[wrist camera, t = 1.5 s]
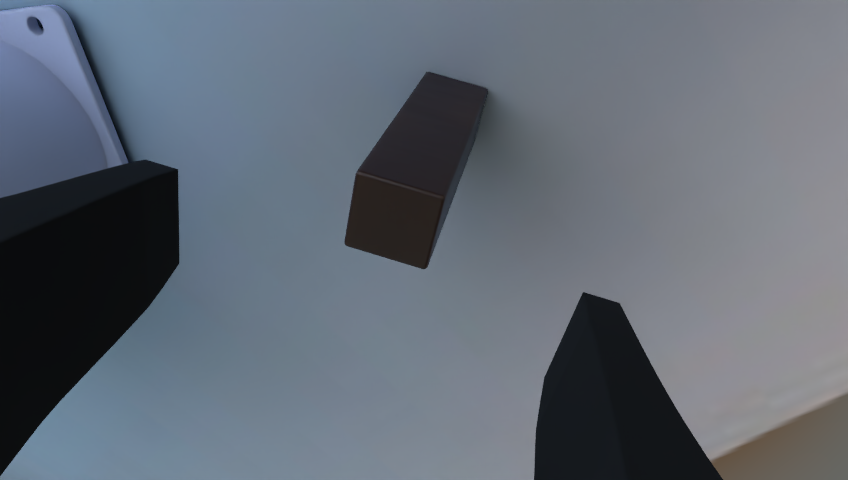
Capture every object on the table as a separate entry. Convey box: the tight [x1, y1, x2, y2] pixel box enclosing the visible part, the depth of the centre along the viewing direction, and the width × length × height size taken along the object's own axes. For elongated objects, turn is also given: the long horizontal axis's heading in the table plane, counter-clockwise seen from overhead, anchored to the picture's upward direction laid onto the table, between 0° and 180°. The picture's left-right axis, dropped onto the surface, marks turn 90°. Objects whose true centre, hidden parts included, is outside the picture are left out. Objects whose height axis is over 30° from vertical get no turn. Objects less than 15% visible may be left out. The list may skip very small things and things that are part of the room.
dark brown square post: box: [345, 72, 488, 269], centre depth 15 cm, size 2×2×6 cm
